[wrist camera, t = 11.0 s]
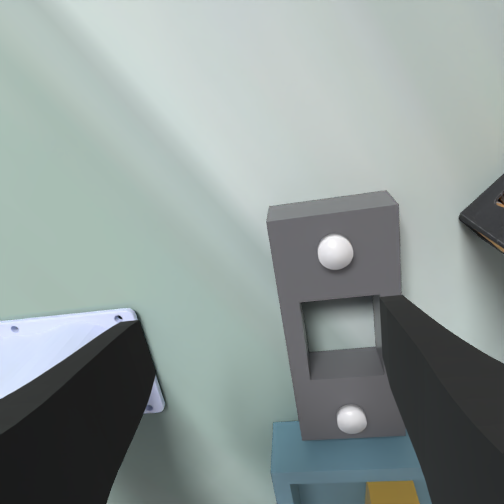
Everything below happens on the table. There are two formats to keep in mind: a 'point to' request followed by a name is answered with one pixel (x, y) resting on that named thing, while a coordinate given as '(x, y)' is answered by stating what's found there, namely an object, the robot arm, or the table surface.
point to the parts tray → (339, 466)
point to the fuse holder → (334, 287)
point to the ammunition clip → (488, 215)
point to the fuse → (391, 492)
